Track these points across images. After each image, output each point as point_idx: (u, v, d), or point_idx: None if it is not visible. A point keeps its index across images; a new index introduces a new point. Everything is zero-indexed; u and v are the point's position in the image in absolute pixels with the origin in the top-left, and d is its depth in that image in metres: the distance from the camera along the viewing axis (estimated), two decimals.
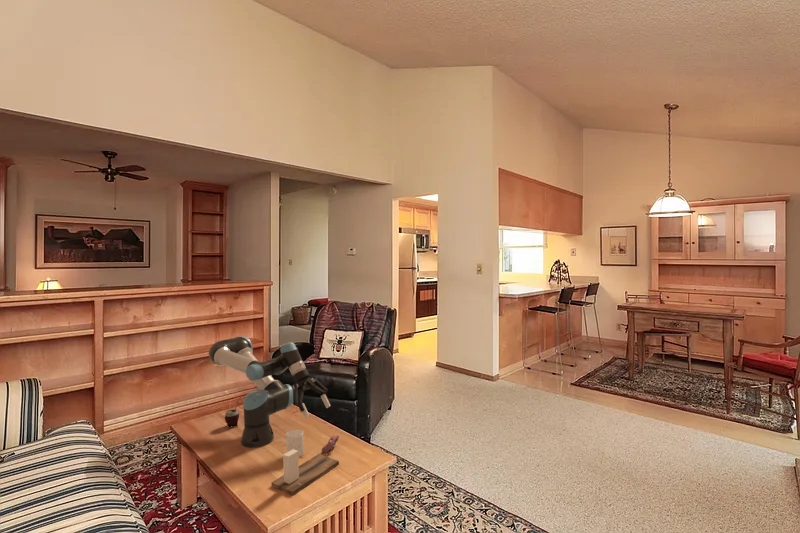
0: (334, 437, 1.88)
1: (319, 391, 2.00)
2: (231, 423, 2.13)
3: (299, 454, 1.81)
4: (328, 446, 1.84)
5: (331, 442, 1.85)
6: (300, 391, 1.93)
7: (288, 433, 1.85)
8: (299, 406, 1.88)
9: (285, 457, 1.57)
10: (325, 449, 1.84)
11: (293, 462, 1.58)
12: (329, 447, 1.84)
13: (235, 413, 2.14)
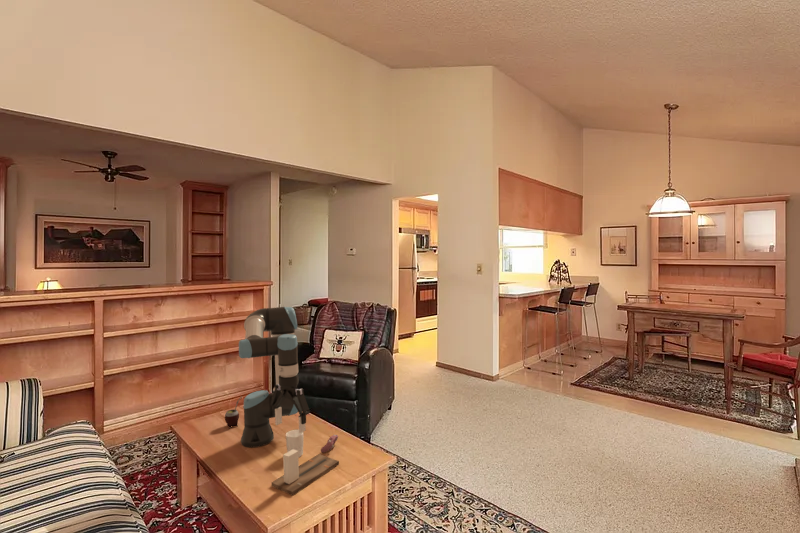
0: (333, 437, 1.88)
1: None
2: (231, 423, 2.13)
3: (299, 454, 1.81)
4: (327, 446, 1.84)
5: (330, 442, 1.85)
6: None
7: (288, 433, 1.85)
8: None
9: (285, 457, 1.57)
10: (324, 449, 1.84)
11: (293, 462, 1.58)
12: (328, 447, 1.84)
13: (235, 413, 2.14)
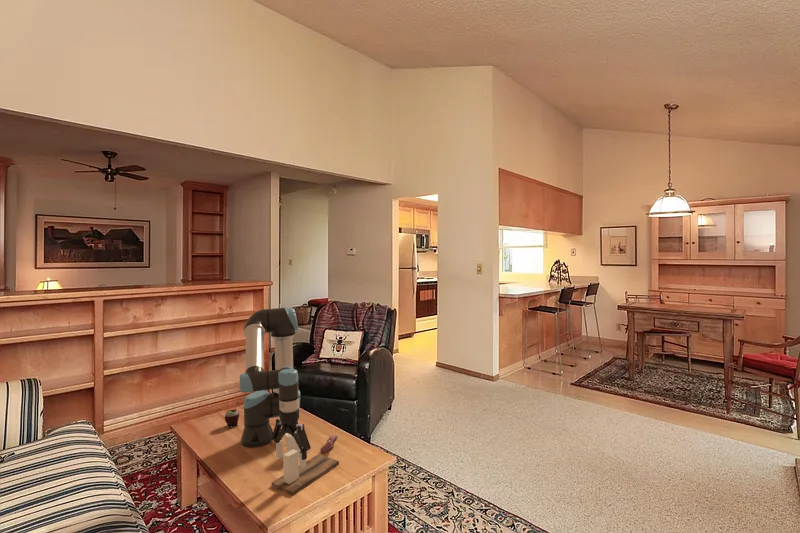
0: (333, 437, 1.88)
1: None
2: (231, 423, 2.13)
3: None
4: (326, 446, 1.84)
5: (330, 442, 1.85)
6: None
7: (288, 433, 1.85)
8: None
9: (285, 457, 1.57)
10: (324, 449, 1.84)
11: (293, 462, 1.58)
12: (328, 447, 1.84)
13: (235, 413, 2.14)
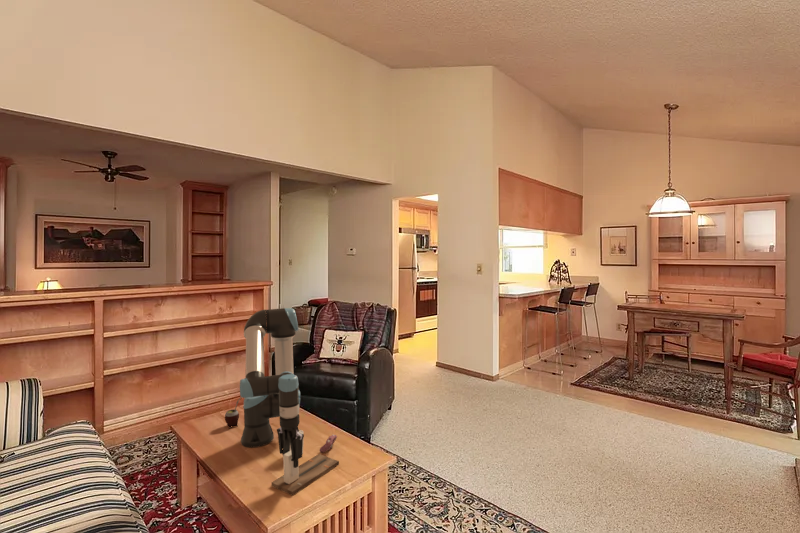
0: (332, 437, 1.88)
1: None
2: (231, 423, 2.13)
3: None
4: (326, 446, 1.84)
5: (329, 442, 1.85)
6: None
7: None
8: None
9: (285, 457, 1.57)
10: (323, 449, 1.84)
11: None
12: (327, 447, 1.84)
13: (235, 413, 2.14)
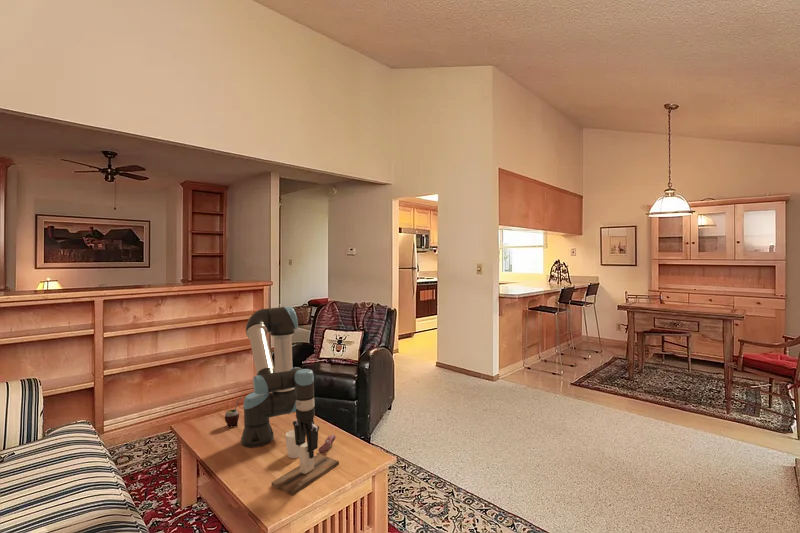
0: (331, 437, 1.88)
1: None
2: (231, 423, 2.13)
3: (299, 454, 1.81)
4: (325, 446, 1.84)
5: (328, 442, 1.85)
6: None
7: (288, 433, 1.85)
8: None
9: (301, 448, 1.64)
10: (322, 449, 1.84)
11: None
12: (326, 447, 1.84)
13: (235, 413, 2.14)
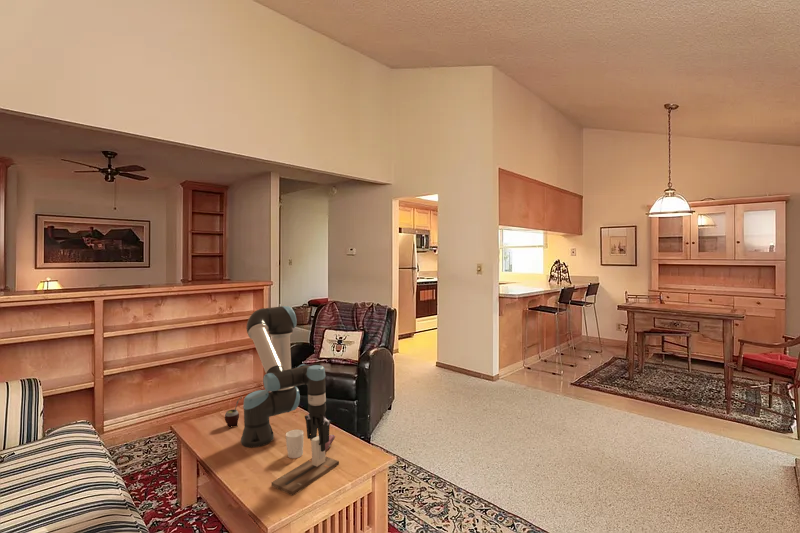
0: (330, 437, 1.88)
1: None
2: (231, 423, 2.13)
3: (299, 454, 1.81)
4: None
5: (327, 442, 1.85)
6: None
7: (288, 433, 1.85)
8: None
9: (313, 441, 1.70)
10: None
11: None
12: (325, 447, 1.84)
13: (235, 413, 2.14)
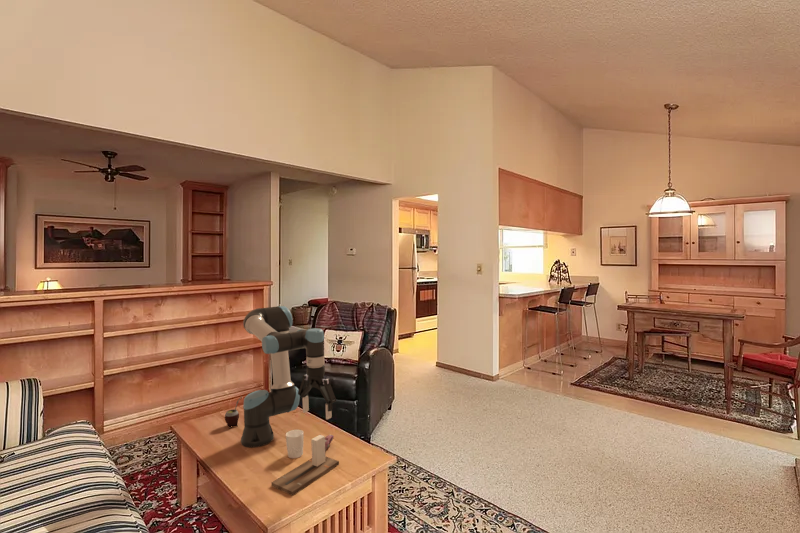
0: (329, 437, 1.88)
1: None
2: (231, 423, 2.13)
3: (299, 454, 1.81)
4: None
5: (326, 442, 1.85)
6: None
7: (288, 433, 1.85)
8: None
9: (313, 441, 1.70)
10: None
11: (320, 446, 1.71)
12: None
13: (235, 413, 2.14)
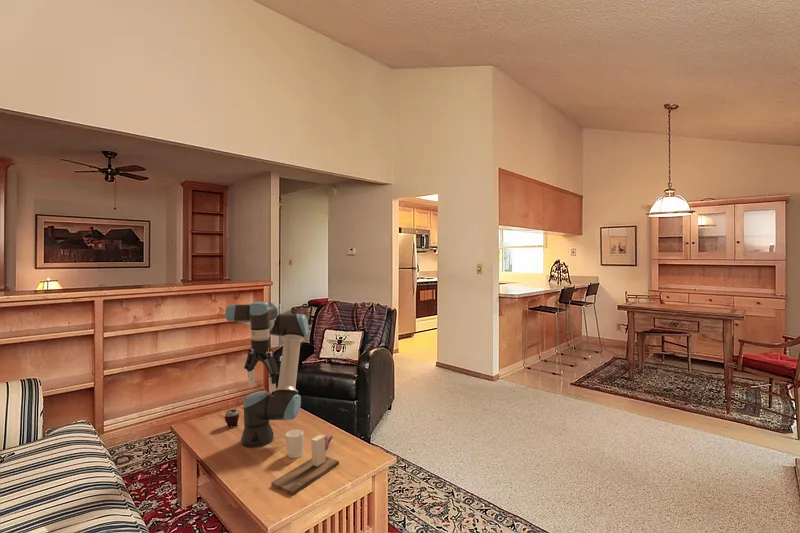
0: (328, 437, 1.88)
1: None
2: (231, 423, 2.13)
3: (299, 454, 1.81)
4: None
5: (325, 442, 1.85)
6: None
7: (288, 433, 1.85)
8: None
9: (313, 441, 1.70)
10: None
11: (320, 446, 1.71)
12: None
13: (235, 413, 2.14)
